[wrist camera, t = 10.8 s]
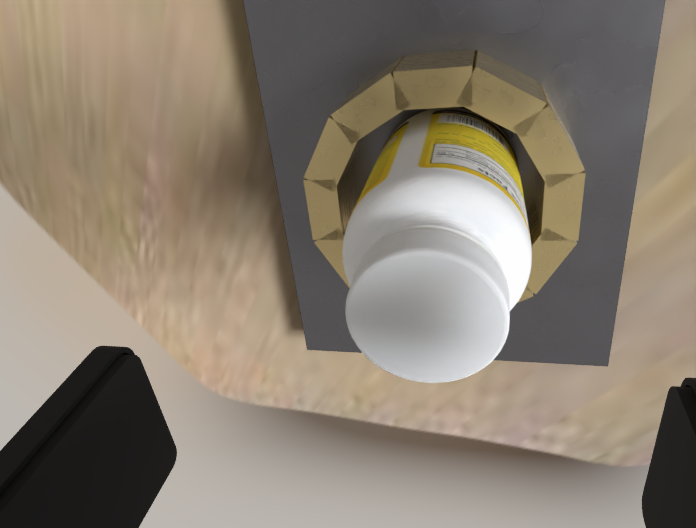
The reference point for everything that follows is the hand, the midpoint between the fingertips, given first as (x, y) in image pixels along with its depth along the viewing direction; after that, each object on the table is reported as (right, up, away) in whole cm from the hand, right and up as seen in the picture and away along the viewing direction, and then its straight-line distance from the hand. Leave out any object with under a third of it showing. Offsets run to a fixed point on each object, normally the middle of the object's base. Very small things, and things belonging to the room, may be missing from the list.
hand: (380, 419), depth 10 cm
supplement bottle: (+3, +6, +12) cm, 14 cm away
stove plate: (+3, +7, +13) cm, 15 cm away
